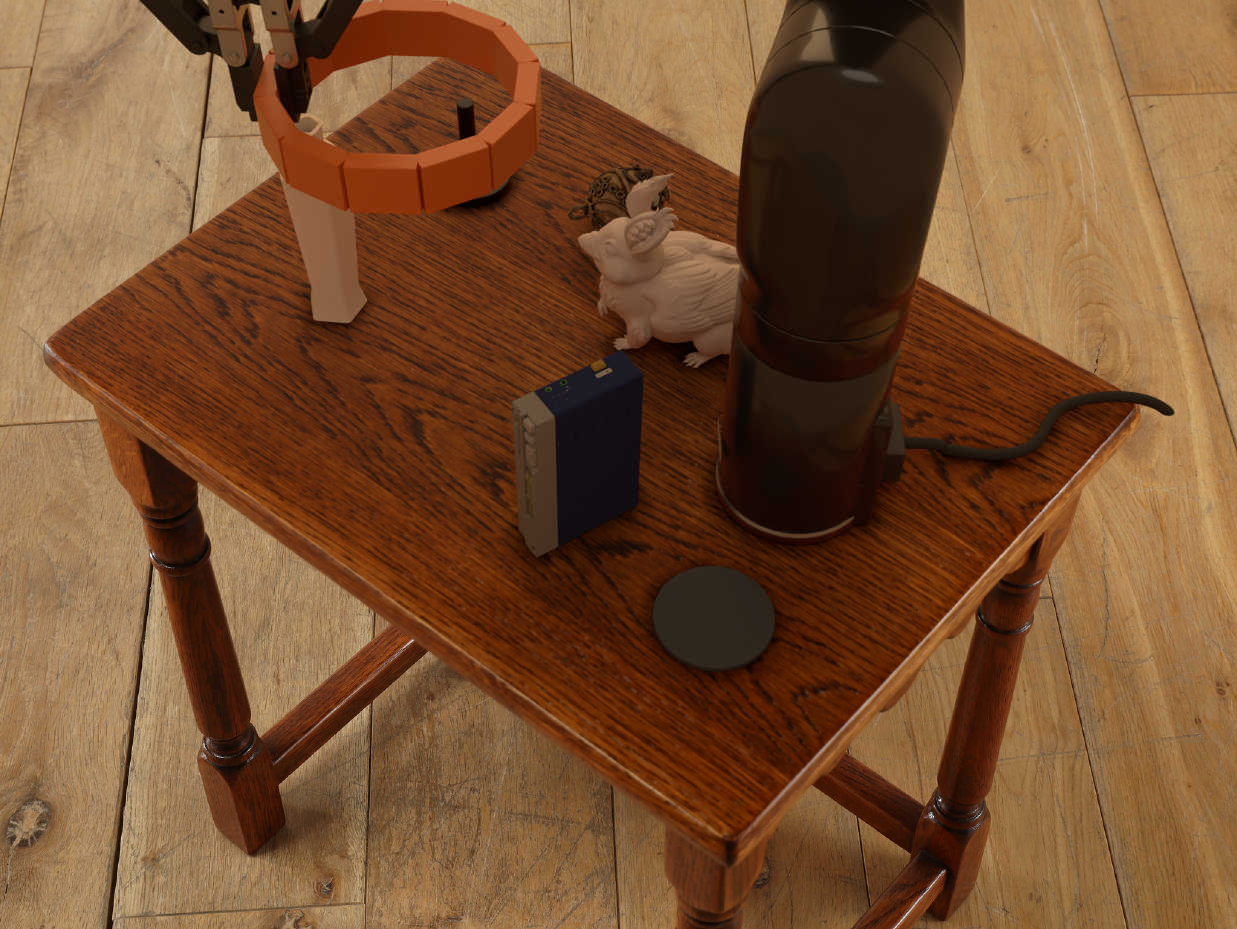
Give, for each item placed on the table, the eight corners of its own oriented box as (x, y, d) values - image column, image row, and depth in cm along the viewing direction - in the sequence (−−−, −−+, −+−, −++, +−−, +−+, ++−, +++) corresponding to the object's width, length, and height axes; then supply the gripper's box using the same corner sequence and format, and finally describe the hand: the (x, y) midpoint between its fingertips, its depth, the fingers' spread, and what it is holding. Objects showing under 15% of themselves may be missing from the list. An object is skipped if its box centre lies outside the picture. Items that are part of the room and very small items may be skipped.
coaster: (771, 570, 87) (772, 567, 87) (777, 673, 83) (778, 669, 82) (652, 568, 87) (652, 564, 87) (652, 670, 82) (652, 666, 82)
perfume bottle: (377, 282, 102) (351, 103, 90) (364, 327, 99) (335, 148, 88) (312, 277, 102) (277, 97, 91) (297, 322, 99) (259, 142, 88)
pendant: (682, 239, 105) (686, 183, 101) (582, 266, 103) (582, 211, 99) (654, 195, 108) (656, 140, 104) (556, 221, 106) (555, 166, 102)
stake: (514, 155, 111) (510, 77, 105) (509, 208, 107) (504, 130, 102) (434, 154, 111) (426, 75, 105) (426, 207, 107) (417, 128, 102)
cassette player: (618, 480, 91) (622, 344, 82) (639, 505, 90) (646, 370, 81) (515, 532, 88) (507, 398, 79) (536, 559, 87) (530, 426, 78)
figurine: (575, 295, 101) (574, 147, 92) (791, 285, 102) (813, 137, 93) (583, 381, 96) (583, 234, 87) (811, 370, 97) (836, 223, 87)
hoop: (548, 48, 85) (546, 2, 83) (530, 218, 76) (527, 172, 73) (292, 40, 85) (283, -6, 83) (242, 210, 76) (231, 163, 74)
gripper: (42, -164, 65) (137, 153, 78) (352, -155, 64) (394, 161, 78) (87, -244, 69) (169, 68, 83) (376, -236, 69) (411, 75, 83)
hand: (278, 112), depth 80 cm, fingers closed on hoop, 1 cm apart
